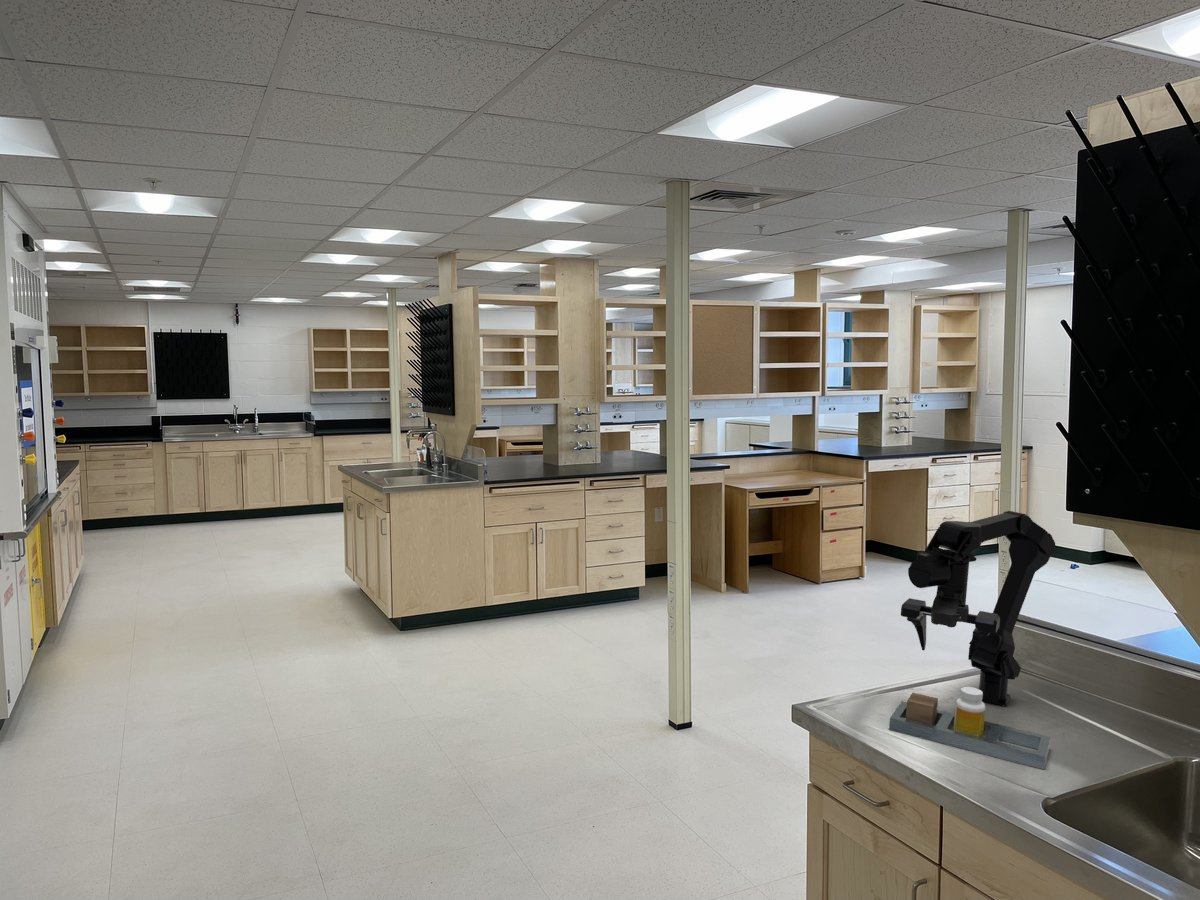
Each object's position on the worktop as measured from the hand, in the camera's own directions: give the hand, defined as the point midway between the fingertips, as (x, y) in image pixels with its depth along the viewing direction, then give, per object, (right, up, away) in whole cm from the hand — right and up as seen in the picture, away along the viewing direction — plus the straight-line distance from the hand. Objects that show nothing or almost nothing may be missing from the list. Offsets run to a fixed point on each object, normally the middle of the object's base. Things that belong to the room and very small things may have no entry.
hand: (946, 654), depth 182 cm
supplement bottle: (0, -14, -11) cm, 18 cm away
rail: (0, -14, -11) cm, 18 cm away
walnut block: (-8, -13, -7) cm, 17 cm away
